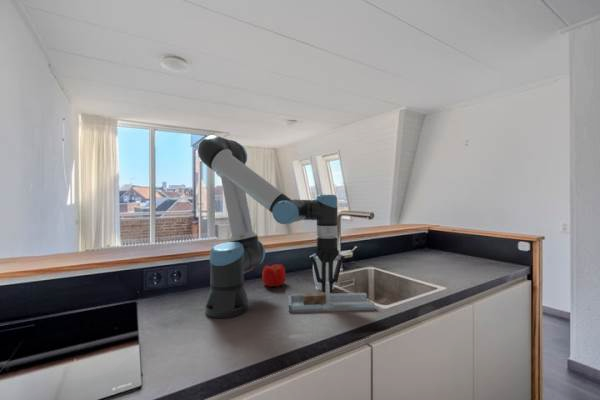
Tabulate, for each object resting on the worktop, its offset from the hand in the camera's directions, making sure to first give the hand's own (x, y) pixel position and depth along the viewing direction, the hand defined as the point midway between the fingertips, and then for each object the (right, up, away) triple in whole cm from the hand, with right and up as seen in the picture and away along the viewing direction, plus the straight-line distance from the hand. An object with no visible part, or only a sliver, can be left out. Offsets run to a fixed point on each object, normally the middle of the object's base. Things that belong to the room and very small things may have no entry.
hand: (327, 300), depth 102 cm
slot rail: (+1, -2, 0) cm, 2 cm away
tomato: (-22, -2, +25) cm, 33 cm away
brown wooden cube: (-3, -1, 0) cm, 3 cm away
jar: (+1, -2, +19) cm, 19 cm away
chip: (-7, -1, -1) cm, 7 cm away
